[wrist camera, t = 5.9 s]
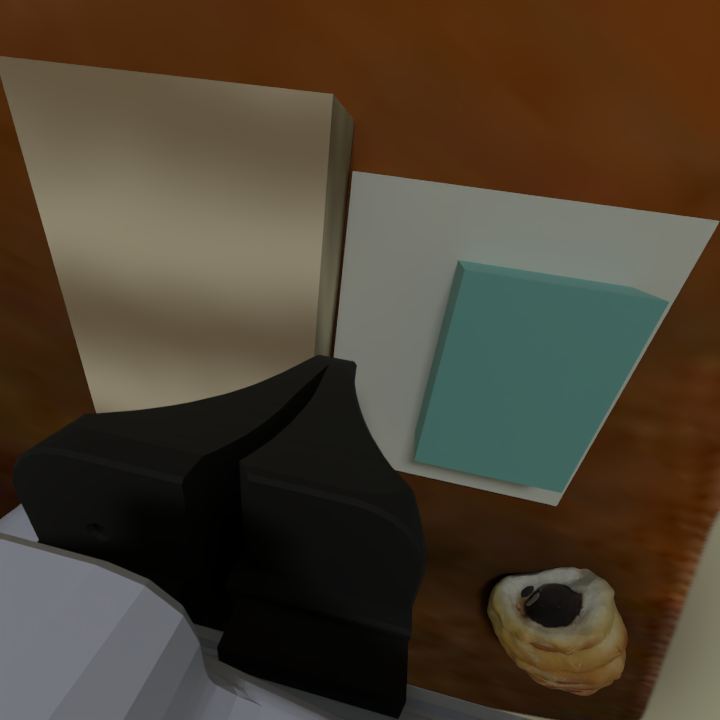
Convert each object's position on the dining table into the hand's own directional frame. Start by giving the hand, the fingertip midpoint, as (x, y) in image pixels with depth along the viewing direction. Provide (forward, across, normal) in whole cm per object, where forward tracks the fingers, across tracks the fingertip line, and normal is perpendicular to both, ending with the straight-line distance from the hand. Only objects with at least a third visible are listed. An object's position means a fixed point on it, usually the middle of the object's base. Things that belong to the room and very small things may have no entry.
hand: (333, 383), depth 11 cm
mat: (+4, -5, 0) cm, 6 cm away
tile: (+2, -6, 0) cm, 7 cm away
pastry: (+4, -14, +15) cm, 21 cm away
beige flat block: (+4, +6, 0) cm, 7 cm away
